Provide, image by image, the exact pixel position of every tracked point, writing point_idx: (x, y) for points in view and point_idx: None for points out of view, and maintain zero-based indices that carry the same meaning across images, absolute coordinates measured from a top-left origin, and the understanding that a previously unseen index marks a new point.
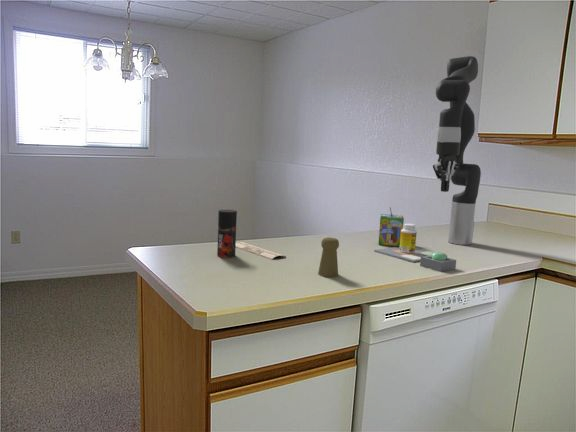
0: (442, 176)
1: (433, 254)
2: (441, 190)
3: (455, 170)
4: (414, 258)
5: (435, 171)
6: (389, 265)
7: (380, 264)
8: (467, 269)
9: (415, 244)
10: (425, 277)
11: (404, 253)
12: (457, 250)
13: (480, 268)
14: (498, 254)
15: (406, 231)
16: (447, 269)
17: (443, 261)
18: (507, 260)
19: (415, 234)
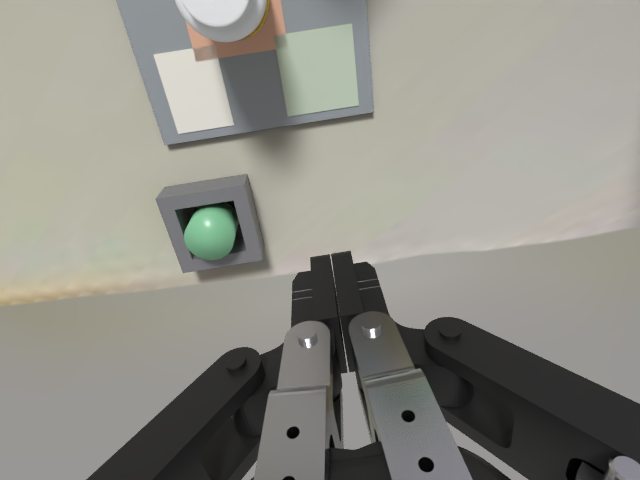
0: (218, 447)
1: (184, 237)
2: (312, 262)
3: (529, 478)
4: (190, 118)
5: (115, 470)
6: (44, 150)
7: (11, 127)
8: (298, 258)
9: (259, 28)
10: (103, 287)
11: None
12: (531, 21)
13: None
14: (609, 138)
15: (182, 14)
16: None
17: (200, 265)
18: (535, 213)
19: (238, 40)
